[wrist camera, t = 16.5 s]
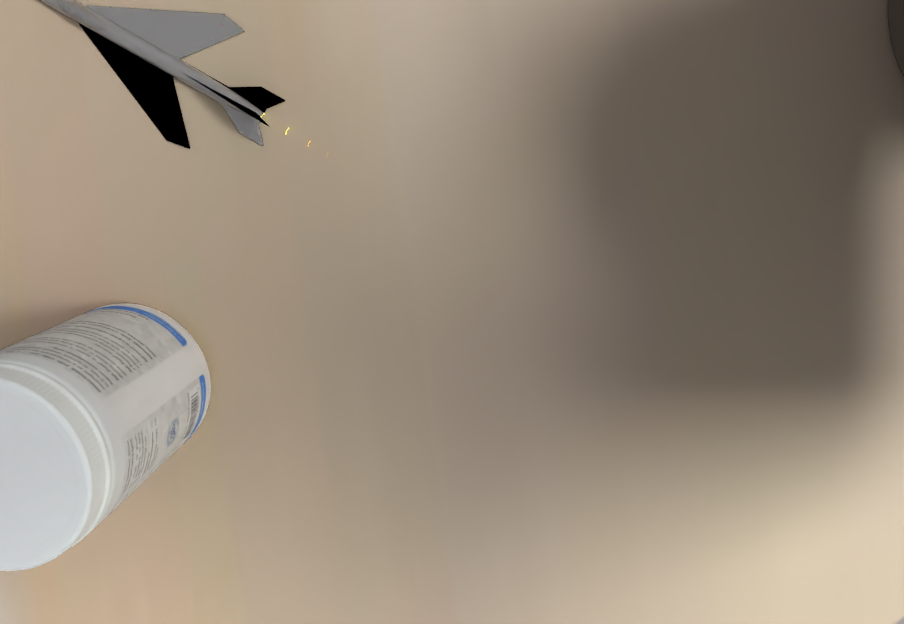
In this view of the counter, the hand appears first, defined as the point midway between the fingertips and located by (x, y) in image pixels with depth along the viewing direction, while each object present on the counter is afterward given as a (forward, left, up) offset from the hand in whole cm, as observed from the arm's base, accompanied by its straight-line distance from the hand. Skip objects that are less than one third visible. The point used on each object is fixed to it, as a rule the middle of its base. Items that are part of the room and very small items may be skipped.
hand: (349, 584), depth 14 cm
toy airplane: (+19, -7, -35) cm, 40 cm away
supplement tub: (+18, +12, -34) cm, 41 cm away
